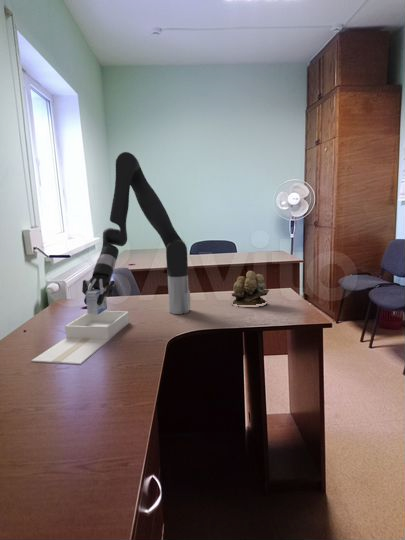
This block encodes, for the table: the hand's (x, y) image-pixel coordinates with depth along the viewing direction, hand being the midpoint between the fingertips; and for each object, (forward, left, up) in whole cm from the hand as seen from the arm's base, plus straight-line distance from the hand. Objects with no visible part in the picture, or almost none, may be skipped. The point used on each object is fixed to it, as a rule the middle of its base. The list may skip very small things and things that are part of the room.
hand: (92, 304), depth 128 cm
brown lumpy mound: (-58, -44, -12) cm, 74 cm away
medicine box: (0, -3, -4) cm, 5 cm away
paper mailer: (0, +6, -12) cm, 13 cm away
